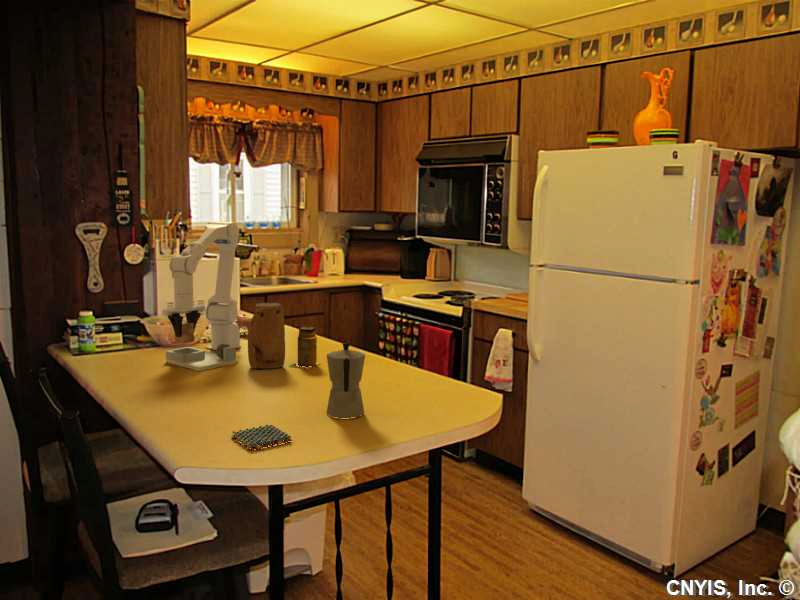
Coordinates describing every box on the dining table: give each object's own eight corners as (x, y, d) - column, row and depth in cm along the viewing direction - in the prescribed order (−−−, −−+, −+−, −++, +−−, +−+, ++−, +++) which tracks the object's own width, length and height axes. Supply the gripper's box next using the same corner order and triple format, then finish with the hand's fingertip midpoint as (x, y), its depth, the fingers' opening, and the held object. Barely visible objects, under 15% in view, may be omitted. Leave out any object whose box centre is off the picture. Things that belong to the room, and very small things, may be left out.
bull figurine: (241, 331, 270) (241, 311, 269) (258, 337, 260) (258, 316, 259) (231, 332, 267) (231, 312, 266) (247, 338, 257) (247, 317, 256)
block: (279, 363, 219) (279, 301, 217) (286, 368, 213) (286, 304, 210) (246, 366, 215) (245, 303, 212) (252, 371, 208) (251, 306, 205)
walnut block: (185, 339, 220) (185, 321, 220) (194, 341, 218) (193, 322, 217) (174, 341, 217) (174, 322, 216) (183, 343, 214) (182, 324, 214)
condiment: (321, 363, 220) (322, 327, 218) (308, 369, 212) (308, 331, 210) (302, 361, 223) (302, 325, 221) (288, 366, 215) (288, 329, 213)
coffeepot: (326, 406, 175) (326, 337, 172) (363, 405, 175) (364, 337, 173) (325, 425, 159) (326, 350, 157) (366, 425, 160) (367, 350, 158)
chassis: (205, 354, 229) (205, 338, 228) (238, 362, 219) (238, 346, 218) (166, 362, 217) (165, 345, 216) (199, 371, 207) (198, 353, 206)
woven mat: (250, 455, 142) (249, 445, 141) (229, 440, 150) (229, 431, 150) (294, 445, 148) (294, 436, 148) (272, 431, 156) (272, 422, 156)
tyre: (227, 356, 220) (227, 343, 220) (231, 357, 219) (231, 343, 219) (216, 358, 217) (216, 345, 216) (220, 359, 216) (220, 346, 215)
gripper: (195, 290, 223) (196, 331, 225) (155, 294, 212) (157, 337, 214) (208, 292, 219) (209, 333, 221) (169, 296, 208) (170, 340, 209)
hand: (184, 335), depth 217 cm, fingers closed on walnut block, 4 cm apart
